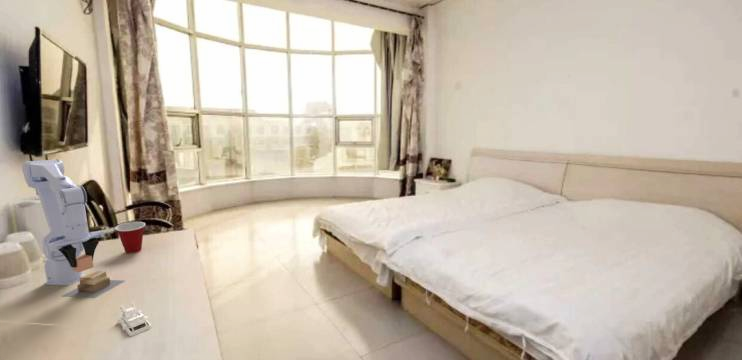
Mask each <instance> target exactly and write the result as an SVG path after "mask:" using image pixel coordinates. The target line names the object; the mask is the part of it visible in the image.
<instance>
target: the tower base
mask: <svg viewBox="0 0 742 360" xmlns="http://www.w3.org/2000/svg"><path fill="white" fill-rule="evenodd" d="M110 280H111V279H110V277H107V278H106V279H104V280H102V281H100V282H99V283H97V284H95V285H84V284H80V283H78V284H77V286H76V288H78V292H89V293H95V292H97V291H99V290H101V289H103V288H105V287H106V286H108V285H110Z"/></svg>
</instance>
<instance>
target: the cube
mask: <svg viewBox="0 0 742 360" xmlns="http://www.w3.org/2000/svg"><path fill="white" fill-rule="evenodd" d="M76 261H77V267H75V268H73V267H72V270H73V271H77V272H82V273H83V272H84V271H87V270H89V269H93V268H94V259H93V260H92V256H90V255H85V253H83V254H80V255H79V256H77V257H76Z"/></svg>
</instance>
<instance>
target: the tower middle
mask: <svg viewBox="0 0 742 360" xmlns="http://www.w3.org/2000/svg"><path fill="white" fill-rule="evenodd" d="M84 274H85V275H83V276H81V277H79V280H78V282H79V284H84V285H95V284H97V283H99V282H100V281H102V280H104V279H106V278H107V276H108V275H107V271H106V270H105V271H103V270H92V271H89V272H87V273H84Z"/></svg>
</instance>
